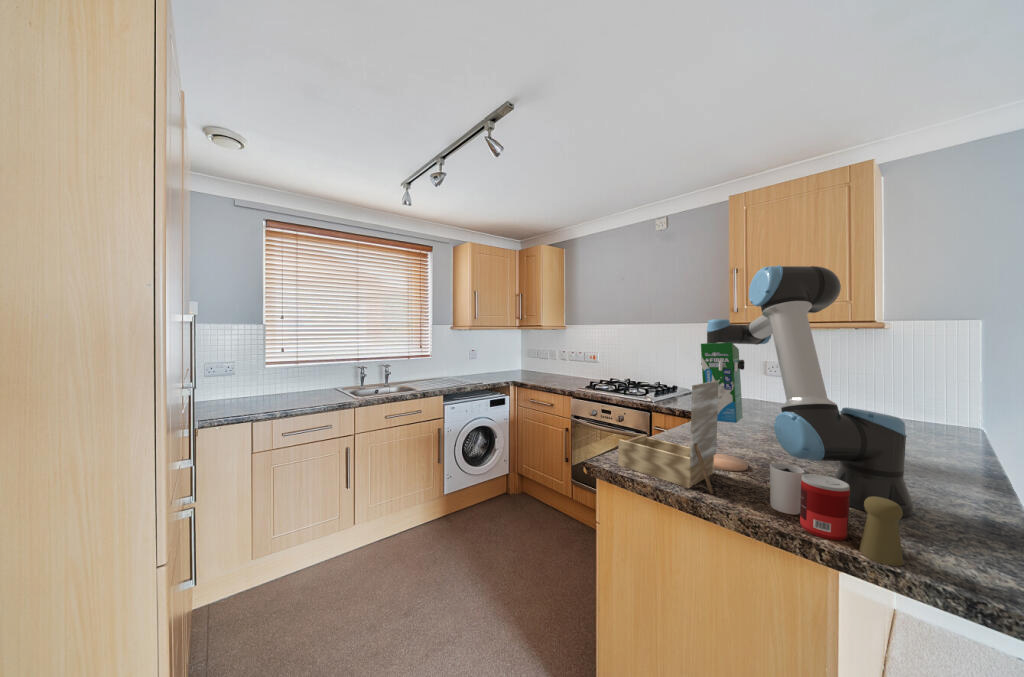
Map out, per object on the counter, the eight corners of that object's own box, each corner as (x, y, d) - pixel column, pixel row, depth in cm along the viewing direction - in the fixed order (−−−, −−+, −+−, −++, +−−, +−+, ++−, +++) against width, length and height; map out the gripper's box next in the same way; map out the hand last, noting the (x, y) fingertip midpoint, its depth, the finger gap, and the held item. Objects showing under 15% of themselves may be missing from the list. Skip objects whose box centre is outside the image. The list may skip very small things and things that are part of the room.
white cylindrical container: (763, 500, 93) (764, 461, 93) (793, 503, 92) (794, 464, 92) (776, 513, 87) (778, 471, 86) (808, 517, 85) (810, 474, 85)
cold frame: (734, 479, 107) (737, 382, 106) (711, 496, 96) (715, 388, 95) (645, 454, 128) (647, 373, 127) (618, 465, 116) (620, 376, 116)
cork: (852, 551, 72) (854, 495, 72) (869, 544, 75) (871, 490, 74) (894, 569, 67) (896, 509, 66) (910, 561, 69) (913, 503, 69)
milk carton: (742, 418, 120) (738, 341, 121) (736, 423, 114) (732, 342, 114) (712, 415, 126) (708, 342, 127) (704, 420, 120) (700, 343, 120)
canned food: (858, 542, 75) (860, 488, 75) (818, 540, 76) (820, 487, 75) (827, 522, 83) (828, 474, 83) (791, 521, 83) (792, 473, 83)
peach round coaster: (753, 464, 119) (753, 461, 119) (739, 474, 110) (739, 470, 110) (710, 454, 129) (710, 450, 129) (694, 462, 120) (694, 458, 120)
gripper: (745, 372, 133) (759, 380, 111) (694, 369, 139) (698, 376, 118) (746, 351, 132) (760, 355, 111) (695, 349, 139) (699, 353, 118)
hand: (728, 366), depth 114 cm, fingers open, 3 cm apart
